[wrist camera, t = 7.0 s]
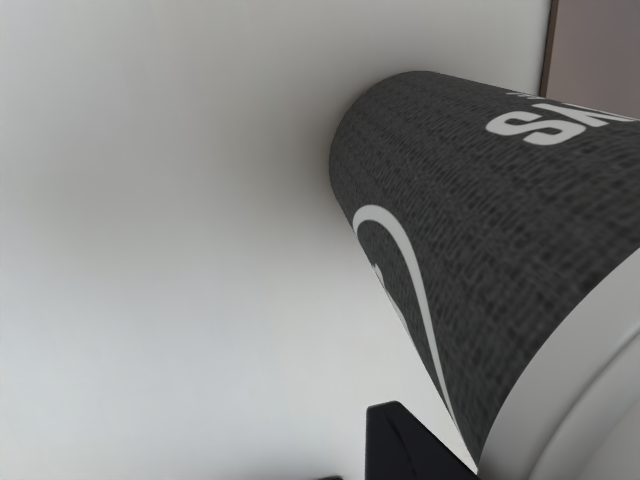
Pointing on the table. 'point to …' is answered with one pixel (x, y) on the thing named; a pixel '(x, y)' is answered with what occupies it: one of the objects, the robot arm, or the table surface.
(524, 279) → the coffee cup
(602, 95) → the open-ended tray
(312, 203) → the table surface
